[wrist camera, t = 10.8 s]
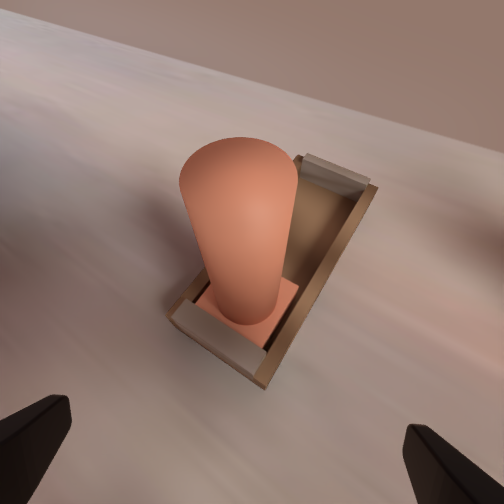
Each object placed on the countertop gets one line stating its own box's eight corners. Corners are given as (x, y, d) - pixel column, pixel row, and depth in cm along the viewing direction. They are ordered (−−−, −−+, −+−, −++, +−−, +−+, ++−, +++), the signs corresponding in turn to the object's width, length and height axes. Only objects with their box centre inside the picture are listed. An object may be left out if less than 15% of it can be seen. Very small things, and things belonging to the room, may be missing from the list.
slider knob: (259, 355, 17) (264, 265, 7) (199, 315, 18) (132, 191, 8) (295, 297, 19) (338, 161, 9) (238, 264, 20) (220, 114, 10)
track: (264, 390, 17) (266, 384, 14) (175, 327, 19) (160, 309, 16) (367, 208, 24) (383, 177, 21) (294, 176, 26) (299, 144, 23)
